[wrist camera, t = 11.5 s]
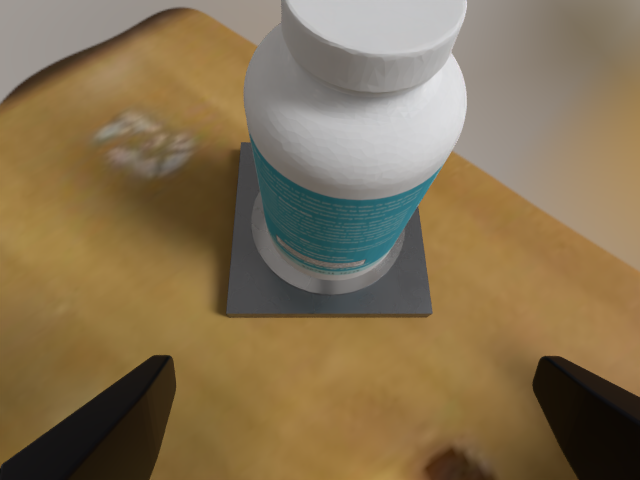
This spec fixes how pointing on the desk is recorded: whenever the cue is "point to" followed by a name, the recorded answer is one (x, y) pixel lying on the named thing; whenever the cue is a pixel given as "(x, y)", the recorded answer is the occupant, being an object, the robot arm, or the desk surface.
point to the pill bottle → (352, 124)
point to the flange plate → (312, 293)
